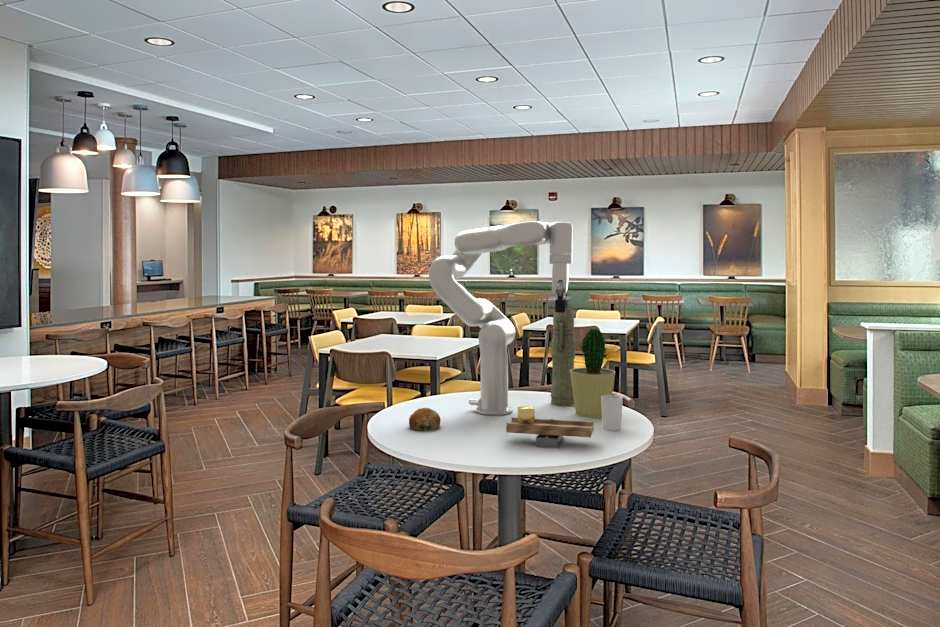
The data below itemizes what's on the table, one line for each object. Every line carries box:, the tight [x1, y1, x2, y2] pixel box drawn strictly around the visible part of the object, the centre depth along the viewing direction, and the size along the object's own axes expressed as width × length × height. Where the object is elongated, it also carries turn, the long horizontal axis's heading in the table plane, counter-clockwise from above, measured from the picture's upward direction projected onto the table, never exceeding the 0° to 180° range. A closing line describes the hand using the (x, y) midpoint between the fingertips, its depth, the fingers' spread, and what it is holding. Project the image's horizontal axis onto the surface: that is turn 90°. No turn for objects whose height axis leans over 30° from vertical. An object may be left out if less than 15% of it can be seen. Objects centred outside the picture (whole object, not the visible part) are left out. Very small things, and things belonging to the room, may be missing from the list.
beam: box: [505, 416, 595, 438], centre depth 205 cm, size 24×9×3 cm, turn 75°
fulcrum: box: [535, 434, 564, 449], centre depth 206 cm, size 6×12×3 cm, turn 165°
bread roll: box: [408, 407, 441, 432], centre depth 224 cm, size 10×10×8 cm
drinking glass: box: [601, 394, 624, 431], centre depth 222 cm, size 7×7×10 cm
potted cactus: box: [570, 327, 616, 418], centre depth 243 cm, size 15×15×30 cm
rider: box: [517, 405, 536, 424], centre depth 207 cm, size 5×5×5 cm
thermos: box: [550, 307, 577, 406], centre depth 260 cm, size 9×12×35 cm
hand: (560, 311), depth 236 cm, fingers open, 9 cm apart
